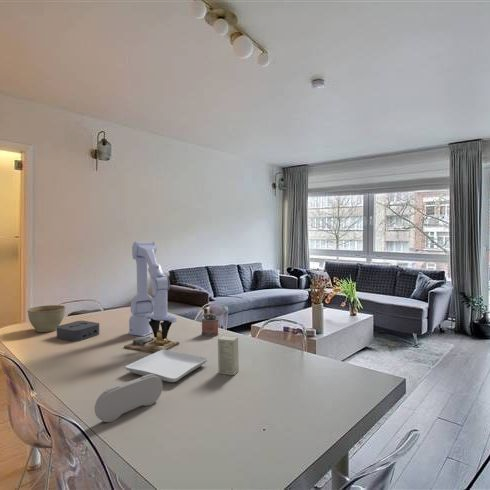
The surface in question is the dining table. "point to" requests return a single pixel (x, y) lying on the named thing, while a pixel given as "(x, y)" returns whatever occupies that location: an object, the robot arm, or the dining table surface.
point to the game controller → (128, 397)
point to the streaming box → (77, 330)
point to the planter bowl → (46, 317)
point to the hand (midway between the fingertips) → (160, 337)
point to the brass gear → (160, 338)
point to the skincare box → (228, 355)
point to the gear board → (149, 345)
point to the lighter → (209, 325)
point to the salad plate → (167, 365)
